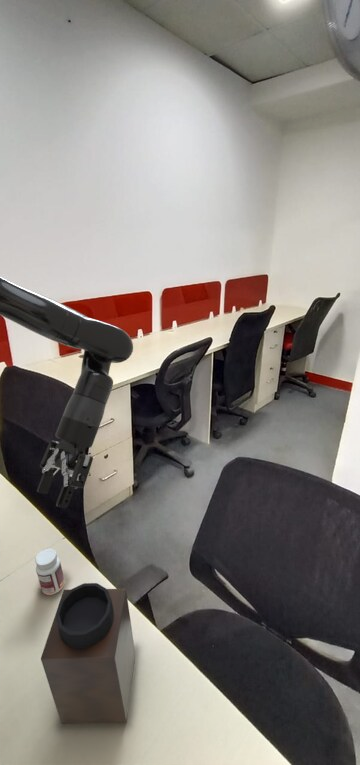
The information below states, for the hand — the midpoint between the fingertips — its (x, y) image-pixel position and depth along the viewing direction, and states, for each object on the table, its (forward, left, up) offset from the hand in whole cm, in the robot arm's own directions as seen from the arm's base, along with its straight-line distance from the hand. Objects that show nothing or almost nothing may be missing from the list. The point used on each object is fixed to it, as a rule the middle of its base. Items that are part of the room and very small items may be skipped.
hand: (51, 499), depth 69 cm
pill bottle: (-3, -2, -21) cm, 21 cm away
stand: (+11, -20, -21) cm, 31 cm away
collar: (+11, -20, -5) cm, 24 cm away
